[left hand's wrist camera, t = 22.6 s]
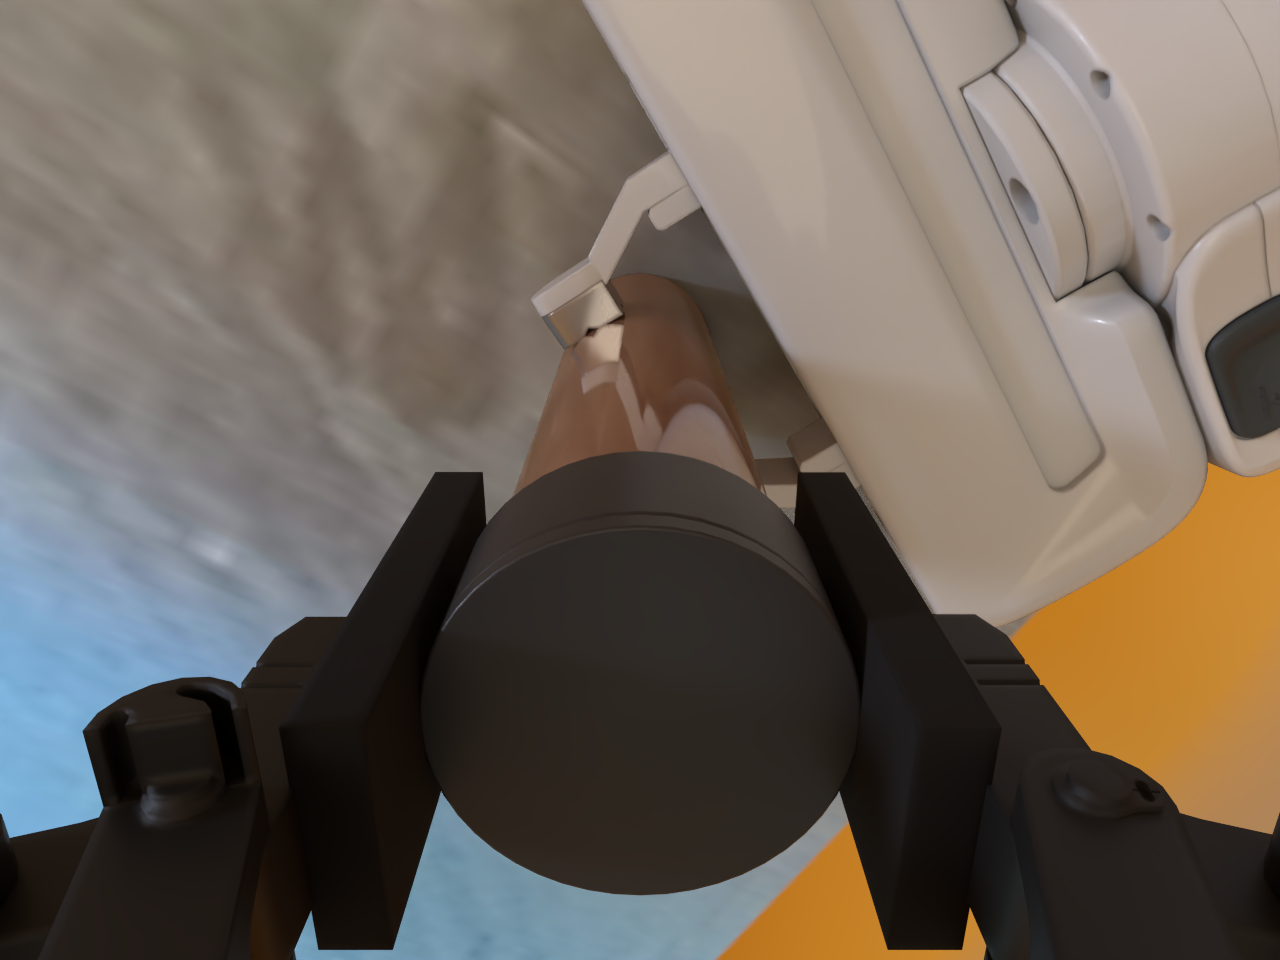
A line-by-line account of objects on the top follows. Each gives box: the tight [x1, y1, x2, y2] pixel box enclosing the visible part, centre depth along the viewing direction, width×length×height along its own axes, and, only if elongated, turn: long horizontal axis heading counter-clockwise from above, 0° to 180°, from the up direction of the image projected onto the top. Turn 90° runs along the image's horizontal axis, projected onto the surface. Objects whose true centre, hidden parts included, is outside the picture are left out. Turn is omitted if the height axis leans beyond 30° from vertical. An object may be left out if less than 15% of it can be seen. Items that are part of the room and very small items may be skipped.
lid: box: [419, 451, 861, 895], centre depth 11 cm, size 5×5×2 cm
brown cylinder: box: [512, 274, 768, 497], centre depth 20 cm, size 4×4×20 cm
